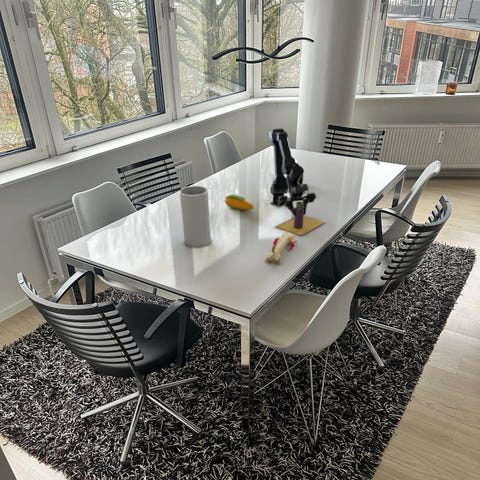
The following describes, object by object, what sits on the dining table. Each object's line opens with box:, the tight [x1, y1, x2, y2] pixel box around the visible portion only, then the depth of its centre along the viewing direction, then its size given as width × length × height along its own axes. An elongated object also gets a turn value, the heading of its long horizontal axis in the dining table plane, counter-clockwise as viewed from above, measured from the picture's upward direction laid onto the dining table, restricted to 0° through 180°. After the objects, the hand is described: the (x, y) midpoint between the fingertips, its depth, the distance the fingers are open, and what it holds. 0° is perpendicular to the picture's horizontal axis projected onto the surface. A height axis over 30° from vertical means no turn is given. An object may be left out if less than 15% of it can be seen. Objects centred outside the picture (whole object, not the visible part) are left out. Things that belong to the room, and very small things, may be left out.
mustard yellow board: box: [275, 215, 325, 237], centre depth 231 cm, size 20×16×1 cm
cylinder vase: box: [179, 185, 212, 248], centre depth 211 cm, size 12×12×25 cm
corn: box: [224, 194, 255, 212], centre depth 248 cm, size 7×8×20 cm
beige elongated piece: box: [265, 231, 298, 265], centre depth 205 cm, size 10×9×25 cm
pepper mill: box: [293, 201, 305, 229], centre depth 225 cm, size 5×5×12 cm
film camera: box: [285, 174, 304, 186], centre depth 279 cm, size 18×12×10 cm
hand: (299, 215), depth 224 cm, fingers closed on pepper mill, 5 cm apart
